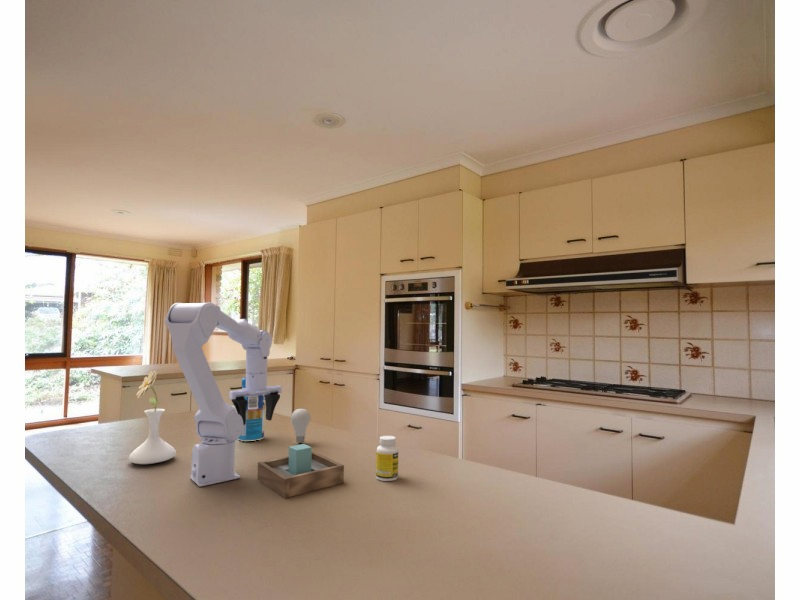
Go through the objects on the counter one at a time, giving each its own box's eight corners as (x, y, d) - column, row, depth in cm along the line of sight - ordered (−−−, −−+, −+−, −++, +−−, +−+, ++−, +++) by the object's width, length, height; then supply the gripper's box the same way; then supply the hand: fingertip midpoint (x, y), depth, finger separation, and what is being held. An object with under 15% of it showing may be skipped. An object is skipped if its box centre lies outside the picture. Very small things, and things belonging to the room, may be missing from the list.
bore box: (284, 498, 94) (284, 479, 95) (257, 479, 106) (257, 462, 106) (343, 482, 104) (343, 465, 104) (313, 466, 115) (313, 451, 116)
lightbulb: (312, 441, 141) (313, 406, 142) (306, 446, 135) (307, 410, 135) (294, 441, 141) (294, 406, 142) (287, 446, 135) (288, 410, 136)
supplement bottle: (395, 482, 104) (395, 440, 105) (373, 481, 105) (373, 439, 106) (400, 475, 109) (400, 435, 110) (379, 473, 110) (379, 434, 111)
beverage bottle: (231, 441, 140) (233, 378, 142) (248, 435, 149) (249, 376, 150) (254, 443, 138) (255, 379, 139) (269, 437, 146) (271, 376, 147)
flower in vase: (133, 457, 123) (136, 368, 124) (178, 453, 127) (181, 367, 128) (122, 472, 111) (126, 372, 112) (172, 467, 115) (175, 371, 116)
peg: (295, 485, 102) (296, 450, 103) (288, 480, 105) (288, 446, 106) (311, 481, 105) (311, 447, 105) (303, 476, 108) (304, 443, 108)
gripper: (237, 376, 114) (236, 429, 114) (287, 371, 124) (286, 420, 124) (226, 374, 119) (225, 424, 119) (275, 369, 129) (274, 416, 129)
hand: (255, 422), depth 122 cm, fingers open, 7 cm apart
